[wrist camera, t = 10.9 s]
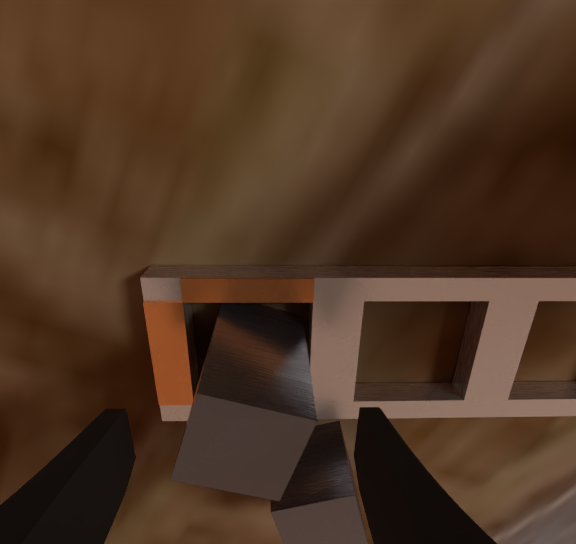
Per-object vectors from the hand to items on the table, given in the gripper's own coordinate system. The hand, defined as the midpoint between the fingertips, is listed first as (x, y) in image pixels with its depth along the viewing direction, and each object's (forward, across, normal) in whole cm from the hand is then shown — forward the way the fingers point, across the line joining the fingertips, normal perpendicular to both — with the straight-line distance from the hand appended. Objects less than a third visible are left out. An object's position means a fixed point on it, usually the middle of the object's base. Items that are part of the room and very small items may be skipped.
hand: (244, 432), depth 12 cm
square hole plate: (+5, -7, 0) cm, 9 cm away
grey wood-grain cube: (+5, -3, +7) cm, 9 cm away
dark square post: (+5, 0, 0) cm, 5 cm away
